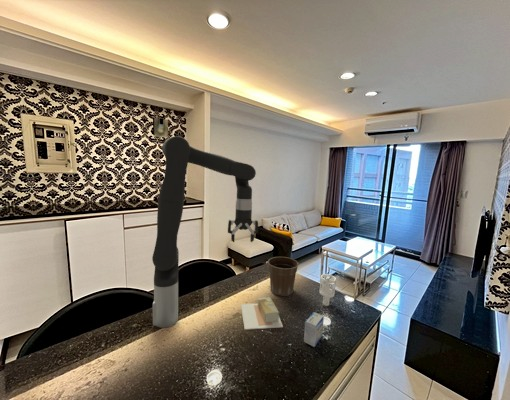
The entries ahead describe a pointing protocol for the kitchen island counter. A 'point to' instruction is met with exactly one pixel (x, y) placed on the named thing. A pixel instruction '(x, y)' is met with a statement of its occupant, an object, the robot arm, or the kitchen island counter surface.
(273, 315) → the skincare box
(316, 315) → the medicine box
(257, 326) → the mat
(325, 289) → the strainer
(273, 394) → the kitchen island counter surface
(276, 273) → the plant pot
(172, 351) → the kitchen island counter surface
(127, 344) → the kitchen island counter surface
